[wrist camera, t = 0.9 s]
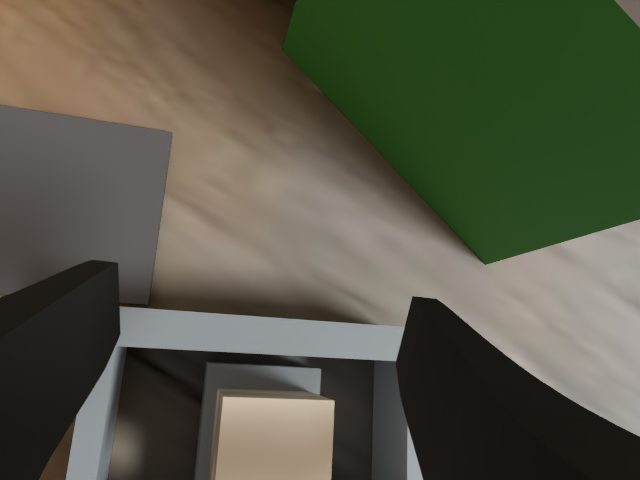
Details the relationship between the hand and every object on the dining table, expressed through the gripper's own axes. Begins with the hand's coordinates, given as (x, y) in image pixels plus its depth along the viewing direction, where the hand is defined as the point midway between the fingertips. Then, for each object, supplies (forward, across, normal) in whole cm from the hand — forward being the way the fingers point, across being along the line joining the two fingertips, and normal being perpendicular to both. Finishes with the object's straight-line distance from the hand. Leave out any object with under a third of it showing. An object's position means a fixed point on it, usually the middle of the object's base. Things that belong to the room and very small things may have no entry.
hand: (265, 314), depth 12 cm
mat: (+12, +10, +3) cm, 16 cm away
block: (+5, 0, +10) cm, 11 cm away
